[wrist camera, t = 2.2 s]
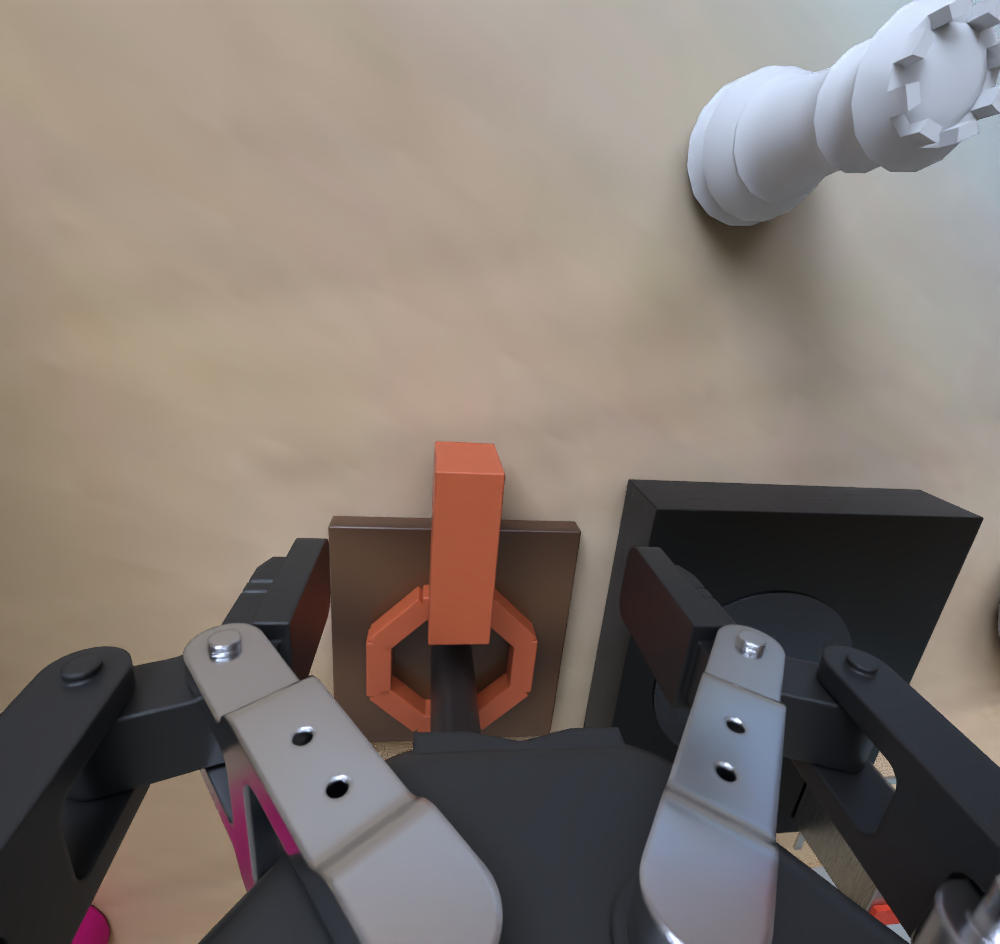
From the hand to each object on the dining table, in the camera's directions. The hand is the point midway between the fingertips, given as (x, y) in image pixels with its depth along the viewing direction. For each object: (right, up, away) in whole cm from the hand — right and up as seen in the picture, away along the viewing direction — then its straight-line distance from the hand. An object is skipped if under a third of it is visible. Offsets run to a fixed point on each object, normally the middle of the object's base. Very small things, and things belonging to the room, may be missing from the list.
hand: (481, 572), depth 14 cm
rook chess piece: (+9, +14, +4) cm, 17 cm away
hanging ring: (-1, -2, +8) cm, 8 cm away
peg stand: (-2, -5, +10) cm, 11 cm away
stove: (+13, -7, +12) cm, 19 cm away
